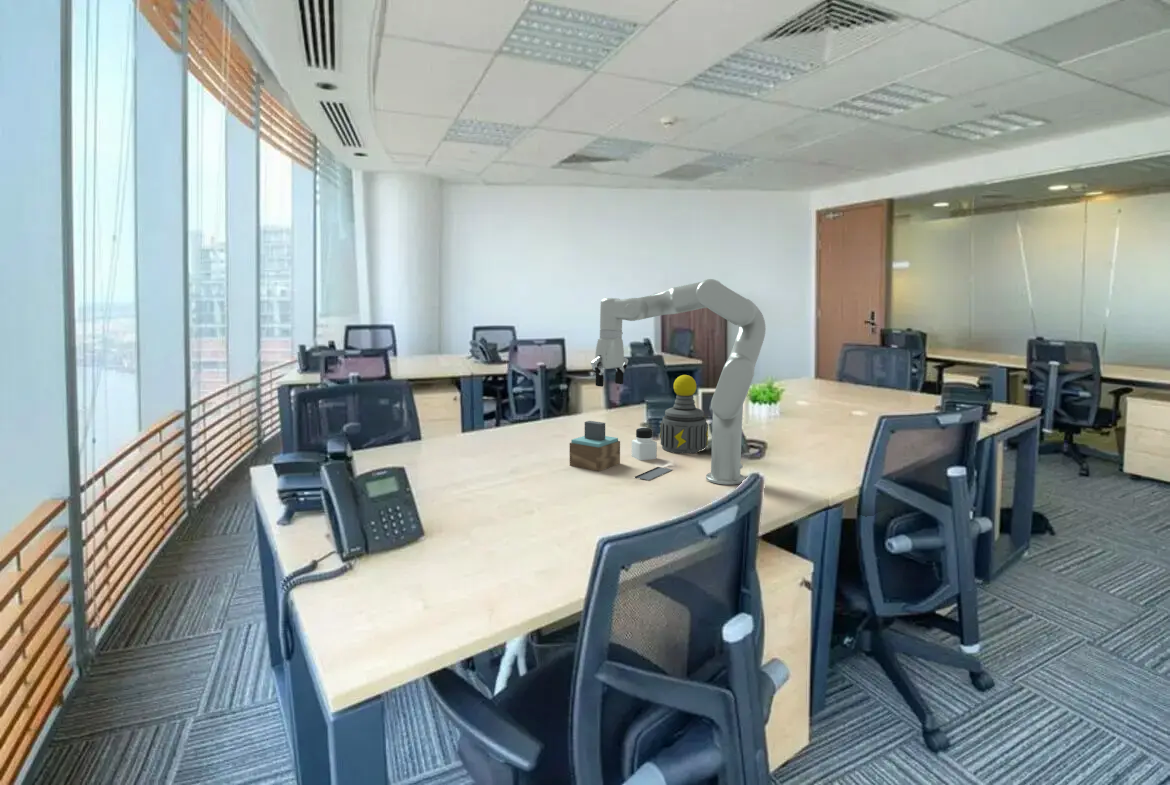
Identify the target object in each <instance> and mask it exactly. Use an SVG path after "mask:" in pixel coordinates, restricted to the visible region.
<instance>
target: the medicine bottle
mask: <svg viewBox="0 0 1170 785" xmlns="http://www.w3.org/2000/svg"><path fill="white" fill-rule="evenodd" d="M635 438H636V439H632V440H631V457H632V458H634V459H636V460H638V461H650V460H656V459H657V456H658V455H657V454H658V452H657V450H658V448H657V447H658V446H657V445H658V444H657V441H654V440H653V429H652V428H651V427H646V426H644V427H643V426H642V427H639V428H636V430H635Z"/></svg>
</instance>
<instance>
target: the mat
mask: <svg viewBox="0 0 1170 785" xmlns="http://www.w3.org/2000/svg"><path fill="white" fill-rule="evenodd" d="M671 471H673V469H672V468H667V467H661V466H657V467H654V468H652V469H649V470H646V471H645V472H642V473H640V474H638V475H635V476H634V477H635V478H634V479H637V478H640V479H639V480H642V479H645V480H644V481H647V480H649V481H651V479H652V480H654V479H656V478H658V477H661V476H662V474H663V475H665V474H667V473H669V472H671ZM660 475H661V476H660ZM657 476H658V477H657ZM655 477H656V478H655ZM653 478H654V479H653Z"/></svg>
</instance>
